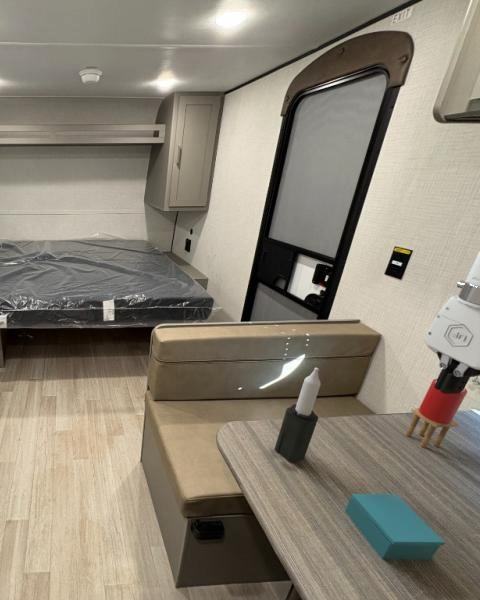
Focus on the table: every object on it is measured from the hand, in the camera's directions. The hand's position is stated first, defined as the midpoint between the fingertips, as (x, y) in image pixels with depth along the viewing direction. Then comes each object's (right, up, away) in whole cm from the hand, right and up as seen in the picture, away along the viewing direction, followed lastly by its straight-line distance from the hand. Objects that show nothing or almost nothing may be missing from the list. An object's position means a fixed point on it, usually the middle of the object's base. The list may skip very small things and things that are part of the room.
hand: (446, 390), depth 58 cm
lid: (-9, -24, 0) cm, 26 cm away
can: (+21, -12, +21) cm, 32 cm away
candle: (-16, -22, +20) cm, 33 cm away
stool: (+21, -20, +24) cm, 37 cm away
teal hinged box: (-9, -28, +2) cm, 30 cm away
